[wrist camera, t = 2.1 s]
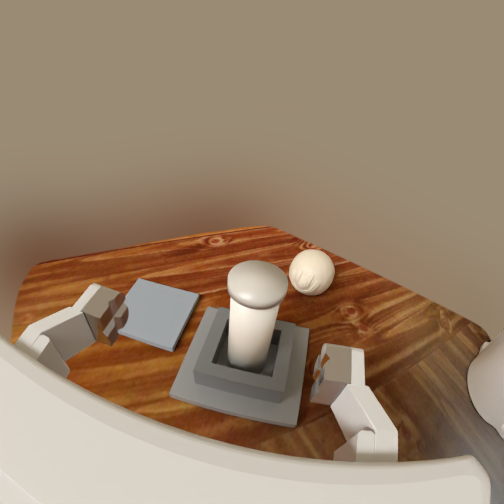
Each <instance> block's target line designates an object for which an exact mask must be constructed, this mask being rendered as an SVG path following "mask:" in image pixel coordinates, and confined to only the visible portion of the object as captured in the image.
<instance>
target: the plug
mask: <svg viewBox="0 0 504 504" xmlns="http://www.w3.org/2000/svg"><path fill="white" fill-rule="evenodd" d="M227 287H228V292H229V295H230V296H231V302H230V318H229V335H228V353H227V363H228V366H229V367H230V368H234V369H238V370H242V371H246V372H251V373H255V374H258V373H260V372H261V371H262V370H263V368H264V366H265V363H266V359H267V355H268V351H269V347H270V343H271V338H272V334H273V330H274V326H275V322H276V318H277V313H278V309H279V305H280V303H281V302H282V301H283V300H284V298H285V296H286V292H287V288H288V279H287V276H286V274H285V273H284V272H283V271H282V270H281V269H280V268H278V267H277V266H275V265H273V264H271V263H268V262H264V261H257V260H252V261H245V262H242V263H239V264H237V265H236V266H234V267H233V268H232V269H231V270H230V272H229V275H228V286H227Z"/></svg>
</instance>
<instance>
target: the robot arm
mask: <svg viewBox="0 0 504 504" xmlns="http://www.w3.org/2000/svg"><path fill="white" fill-rule="evenodd" d="M125 300H126V299H125V296H124V294H123V293H120V292H117V291H115V290H112V289H109V288H106V287H104V286H101V285H98V284H95V283H94V284H92V285H90V286H89V288H88V289H87V290H86V291H85V292H84V294H83V295H82V296H81V297H80V298H79V300H78V301H77V302H76V303H75V304H74V306H73V307H68V308H66V309H63V310H61V311H59V312H57V313H55V314H52V315H50V316H48V317H46V318H44V319H42V320H39V321H37V322H35V323H33V324H31V325H29V326H28V327H27V329H26V330H25V331H24V332H23V334H22V335H21V336H20V338H19V339H18V340H17V342H16V343H15V344H14V345H13V344H12V343H11V342H9V341H8V340H6V339H5V338H4V337H2V336H1V335H0V504H490V499H491V484H490V478H489V476H488V474H487V473H486V471H485V470H484V468H483V467H482V466H481V464H480V463H479V462H478V460H477V459H476V458H475V457H474V456H472V455H464V456H457V457H450V458H442V459H433V460H422V461H408V462H398V431H397V429H396V428H395V426H394V424H393V423H392V421H391V420H390V418H389V417H388V415H387V414H386V412H385V411H384V409H383V408H382V406H381V404H380V403H379V401H378V400H377V398H376V397H375V395H374V394H373V392H372V391H371V389H370V388H369V386H365V363H364V351H363V349H358V348H352V347H347V346H341V345H334V344H328V343H325V344H324V345H323V347H322V352H321V354H320V355H318V358H317V360H316V363H315V366H314V372H313V379H314V380H315V382H314V384H313V386H312V389H311V398H310V402H314V403H319V404H325V405H331V409H332V411H333V413H334V415H335V417H336V419H337V422H338V424H339V426H340V428H341V430H342V432H343V434H344V437H345V439H346V441H347V442H346V443H345V444H344V445H342V446H341V447H340V448H338V449H337V450H336V451H334V458H333V460H321V459H312V458H303V457H296V456H289V455H282V454H276V453H271V452H265V451H260V450H255V449H250V448H246V447H241V446H237V445H233V444H229V443H225V442H221V441H217V440H213V439H210V438H206V437H203V436H200V435H196V434H193V433H190V432H187V431H184V430H181V429H178V428H175V427H172V426H169V425H166V424H163V423H161V422H158V421H155V420H153V419H150V418H147V417H145V416H142V415H140V414H138V413H135V412H133V411H130V410H128V409H126V408H124V407H121V406H119V405H117V404H115V403H112V402H110V401H108V400H106V399H104V398H102V397H100V396H98V395H96V394H94V393H92V392H90V391H88V390H86V389H84V388H82V387H80V386H79V385H77V384H75V383H73V382H71V381H70V380H68V379H66V378H67V376H68V374H69V373H70V369H69V368H68V366H67V365H66V363H65V361H66V360H68V359H69V358H71V357H72V356H74V355H76V354H77V353H79V352H80V351H82V350H83V349H85V348H86V347H88V346H90V345H91V344H93V343H94V342H96V341H99V342H102V343H104V344H107V345H109V346H112V345H113V343H114V342H115V340H116V339H117V337H118V336H119V333H118V330H120V329H122V328H124V326H125V324H126V323H127V320H128V317H129V310H128V307H127V306H126V304H125V303H124V301H125ZM467 382H468V390H469V394H470V397H471V400H472V402H473V404H474V406H475V408H476V410H477V411H478V413H479V414H480V415H481V417H482V418H483V419H484V420H485V421H487V422H488V423H489V424H491V425H492V426H493V427H495V428H496V430H497V431H498V433H499V434H500V436H501V437H502V438H503V439H504V329H503V330H502V331H501V332H500V333H499V334H498V335H497V336H496V337H495V338H494V339H493V340H492V341H491V342H485V343H484V344H483V345H481V347H480V351H479V354H478V356H477V357H476V358H475V359H474V360H473V361H472V362H471V364H470V366H469V370H468V376H467Z"/></svg>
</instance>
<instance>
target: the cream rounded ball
mask: <svg viewBox="0 0 504 504" xmlns="http://www.w3.org/2000/svg"><path fill="white" fill-rule="evenodd" d="M334 274H335V269H334V265H333V262H332V260H331V259H330V258H329V257H328V255H326V254H325V253H324V252H322V251H319V250H305V251H303V252H301V253H299V254H298V255H297V256H296V257H295V258H294V260H293V261H292V263H291V266H290V269H289V278H290V281H291V283H292V285H293V287H294V288H295V289H296V290H297V291H299V292H301V293H303V294H306V295H318V294H321V293H323V292H324V291H325V290H327V289H328V287H329V286H330V285H331V283H332V281H333V278H334Z"/></svg>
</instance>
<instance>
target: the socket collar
mask: <svg viewBox="0 0 504 504" xmlns="http://www.w3.org/2000/svg"><path fill="white" fill-rule="evenodd" d="M229 318H230V309H226V308H222V307H219V309H217V308H213V307H209V306H208V307H207V309H206V312H205V314H204V316H203V318H202V320H201V323H200V325H199V327H198V329H197V332H196V334H195V336H194V338H193V340H192V343H191V345H190V347H189V349H188V352H187V354H186V356H185V358H184V361H183V363H182V365H181V367H180V370H179V372H178V374H177V377H176V379H175V381H174V383H173V386H172V388H171V390H170V393H169V395H170V397H171V398H174V399H177V400H180V401H183V402H187V403H190V404H193V405H196V406H200V407H203V408H207V409H210V410H214V411H217V412H221V413H225V414H229V415H233V416H237V417H241V418H246V419H250V420H255V421H260V422H264V423H270V424H275V425H280V426H286V427H292V428H295V426H296V425H297V419H298V413H299V406H300V400H301V393H302V386H303V378H304V371H305V363H306V355H307V346H308V337H309V328H303V327H298V326H295V325H296V324H295V323H290V322H285V321H280V320H276V322H275V326H274V330H273V334H272V338H271V343H270V347H269V351H268V355H267V359H266V363H265V366H264V368H263V370H262V371H261V372H260V373H258V374H255V373H251V372H246V371H242V370H238V369H234V368H230V367H229V366H228V363H227V353H228V335H229Z"/></svg>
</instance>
